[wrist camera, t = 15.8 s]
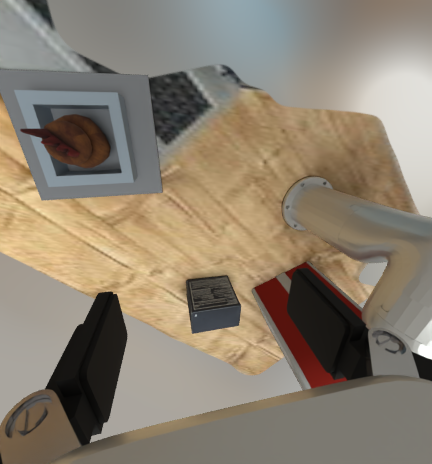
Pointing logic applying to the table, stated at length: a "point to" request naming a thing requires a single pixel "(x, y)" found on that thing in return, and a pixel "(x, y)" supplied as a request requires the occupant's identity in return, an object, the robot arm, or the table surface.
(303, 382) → the red striped mailbox
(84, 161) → the wooden figurine
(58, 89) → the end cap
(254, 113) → the table surface
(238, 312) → the small box
